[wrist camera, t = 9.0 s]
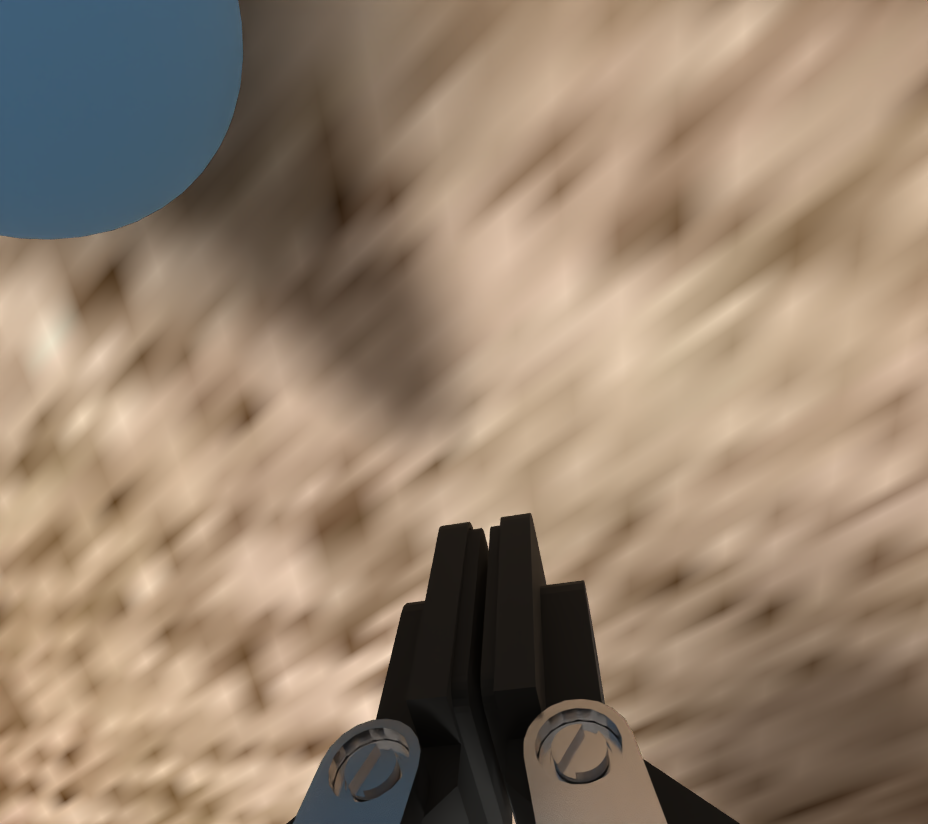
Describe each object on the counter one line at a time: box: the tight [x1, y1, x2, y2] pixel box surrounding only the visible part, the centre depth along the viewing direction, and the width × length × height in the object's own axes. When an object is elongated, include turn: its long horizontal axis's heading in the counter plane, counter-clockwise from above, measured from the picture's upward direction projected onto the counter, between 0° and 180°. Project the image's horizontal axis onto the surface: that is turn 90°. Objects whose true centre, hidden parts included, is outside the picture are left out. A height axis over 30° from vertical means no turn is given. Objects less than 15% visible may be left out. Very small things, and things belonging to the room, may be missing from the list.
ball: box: [0, 0, 243, 239], centre depth 9 cm, size 6×6×6 cm
